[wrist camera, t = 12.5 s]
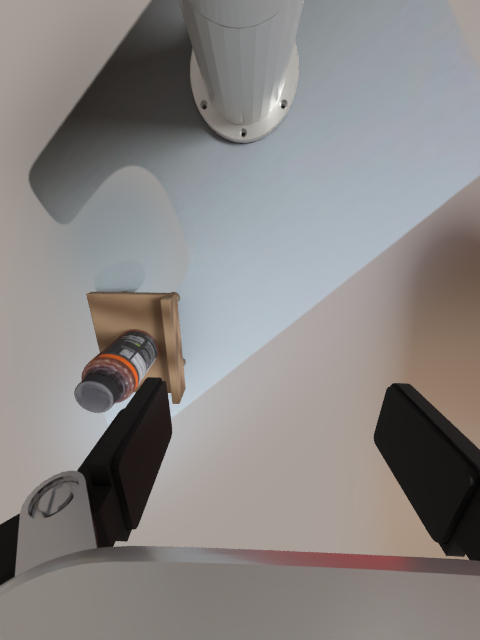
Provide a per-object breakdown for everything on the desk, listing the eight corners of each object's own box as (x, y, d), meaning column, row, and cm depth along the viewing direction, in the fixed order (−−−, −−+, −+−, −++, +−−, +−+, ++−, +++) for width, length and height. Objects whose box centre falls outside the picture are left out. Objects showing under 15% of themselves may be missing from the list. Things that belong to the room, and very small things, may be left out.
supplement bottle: (122, 363, 35) (69, 419, 25) (116, 327, 33) (55, 371, 23) (161, 365, 35) (125, 422, 25) (158, 328, 33) (117, 374, 23)
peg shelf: (111, 284, 37) (74, 298, 29) (185, 285, 37) (168, 300, 29) (127, 369, 43) (100, 401, 35) (192, 371, 43) (179, 403, 35)
